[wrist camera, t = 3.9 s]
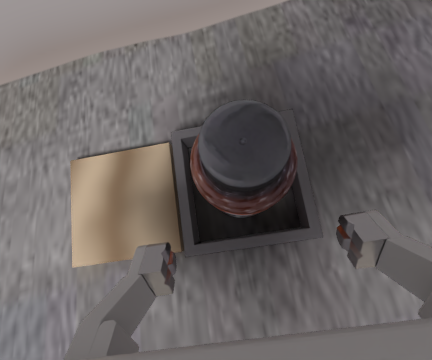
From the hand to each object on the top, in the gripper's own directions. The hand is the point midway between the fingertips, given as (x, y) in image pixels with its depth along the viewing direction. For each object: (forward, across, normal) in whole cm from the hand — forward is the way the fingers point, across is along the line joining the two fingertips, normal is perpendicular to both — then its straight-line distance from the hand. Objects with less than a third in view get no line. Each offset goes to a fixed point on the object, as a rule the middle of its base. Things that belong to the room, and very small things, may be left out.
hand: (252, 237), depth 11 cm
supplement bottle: (+9, 0, +4) cm, 10 cm away
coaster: (+9, +11, +4) cm, 15 cm away
